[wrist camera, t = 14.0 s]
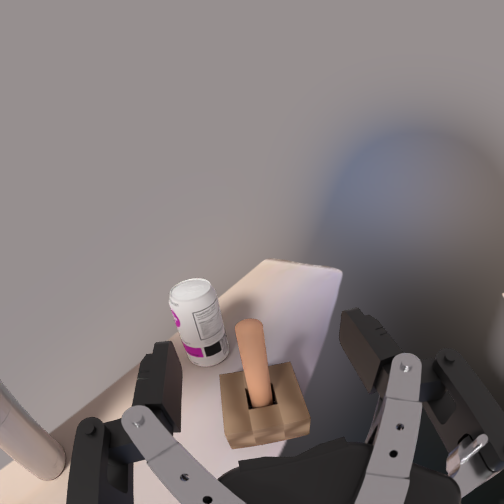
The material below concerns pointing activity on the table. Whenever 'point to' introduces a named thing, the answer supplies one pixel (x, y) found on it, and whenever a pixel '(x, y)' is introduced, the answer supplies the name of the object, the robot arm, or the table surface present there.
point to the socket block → (263, 409)
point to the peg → (254, 361)
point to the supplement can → (199, 321)
